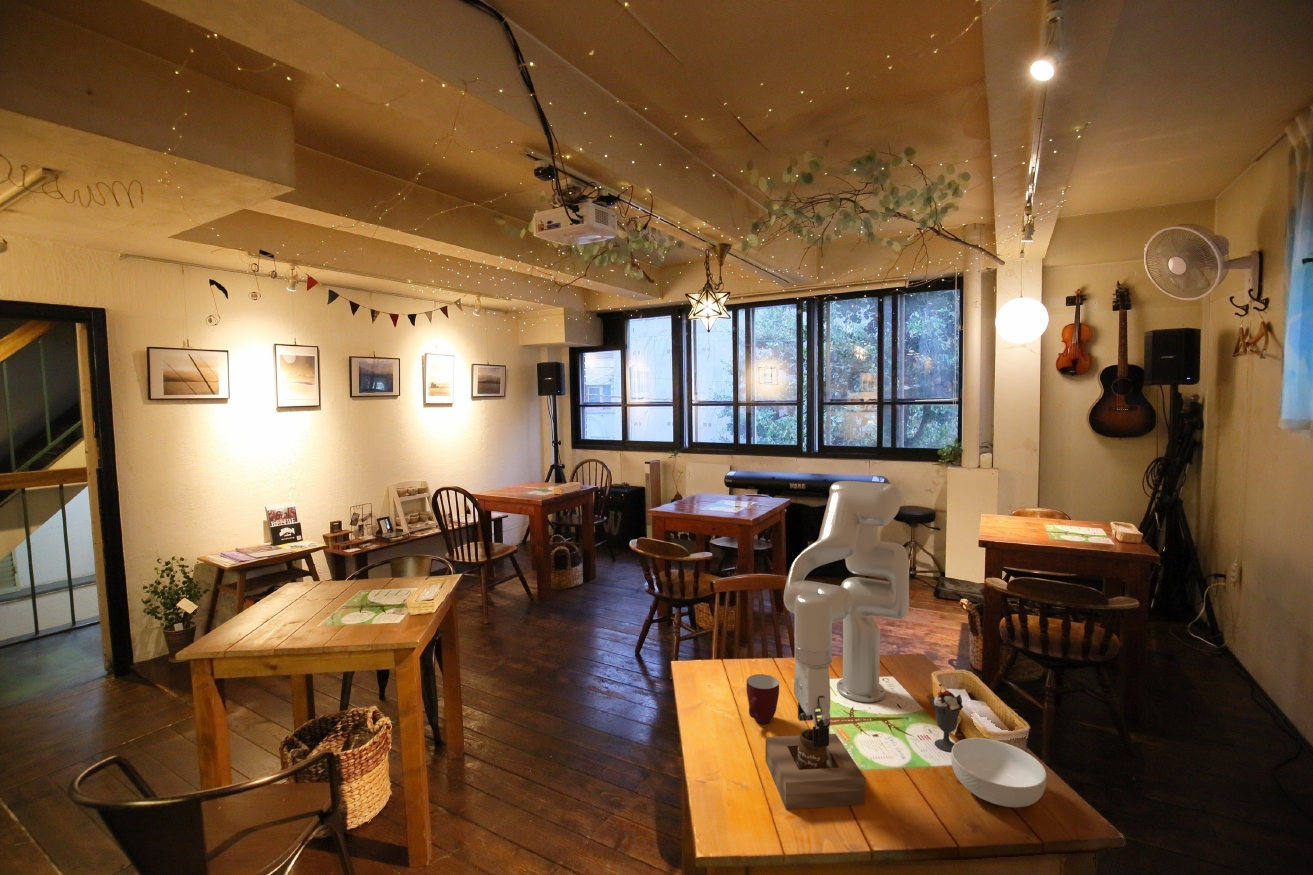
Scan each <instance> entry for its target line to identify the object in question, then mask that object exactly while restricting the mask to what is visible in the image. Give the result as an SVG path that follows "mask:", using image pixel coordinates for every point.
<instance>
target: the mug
mask: <svg viewBox="0 0 1313 875" xmlns="http://www.w3.org/2000/svg"><path fill="white" fill-rule="evenodd" d="M745 686H746V695H747V696H746V697H747V702H748V714H749V716H750V717H751V718H752V719H754V721H755V722H756V723H757V724H762V725H766V724H767V725H768V724H769V723H771V721H772V720H773V718H774V716H775V715H776V712H777V706H778V702H779V701H778V700H779V696H780V681H779V680H778V679H777V677H775V676H773V675H771V674H770V675H768V674H763V673H757V674H752V675H751V676H748V677H747V678H746V684H745Z"/></svg>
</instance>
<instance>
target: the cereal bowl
mask: <svg viewBox="0 0 1313 875" xmlns="http://www.w3.org/2000/svg"><path fill="white" fill-rule="evenodd" d="M950 754H951V755H950V756H951V758H950V759H951V760H950V761H951V765H952V767H951V768H952V769H953V772H954V775H955V776H956V778H957V779H958V781H959V782H960V783H961V785H962V786H964V787H965V789H967V790H968V791H969V792H971V793H972V794H974V795H975V796H977V797H978V798H980V799H982V800H984V801H986V802H988V803H991V804H993V805H998V806H1000V807H1002V806H1003V807H1005V808H1008V807H1009V808H1026V807H1028V806H1031V805H1034V804H1035V803H1037V802H1038V801H1039V800H1040V799H1041V798H1042V796H1043V795H1044V793H1045V791H1046V787H1047V786H1046V785H1047V777H1048V776H1047V772H1046V771H1047V770H1046V769H1045V767H1044V766H1043V765H1042V763H1041V762H1040V761H1039V760H1038V759H1036V758H1035V757H1034V756H1033V755H1031V754H1029V753H1028V752H1026V751H1024V750H1023V749H1021V748H1019V747H1017V746H1015V745H1011V744H1009V743H1006V742H1002V741H999V740H995V739H990V738H984V737H983V738H981V737H972V738H971V737H970V738H965V739H961V740H959V741H957V742H956V743H955V745H954V746H953V748H952V752H950Z"/></svg>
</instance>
